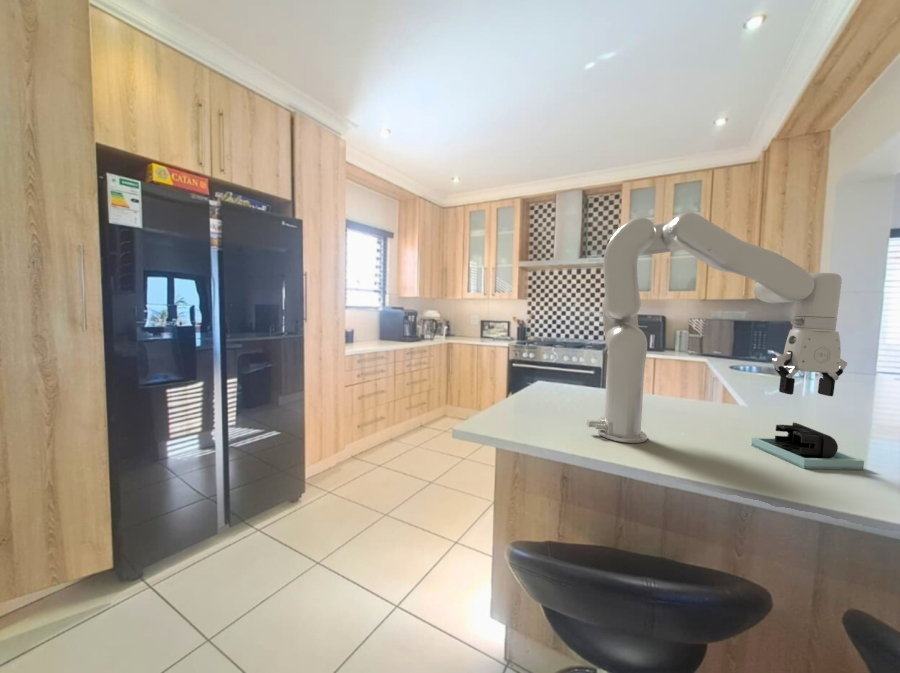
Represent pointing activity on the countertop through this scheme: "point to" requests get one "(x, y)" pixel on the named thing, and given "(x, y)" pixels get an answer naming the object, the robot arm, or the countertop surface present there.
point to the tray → (836, 462)
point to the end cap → (806, 442)
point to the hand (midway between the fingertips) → (805, 394)
